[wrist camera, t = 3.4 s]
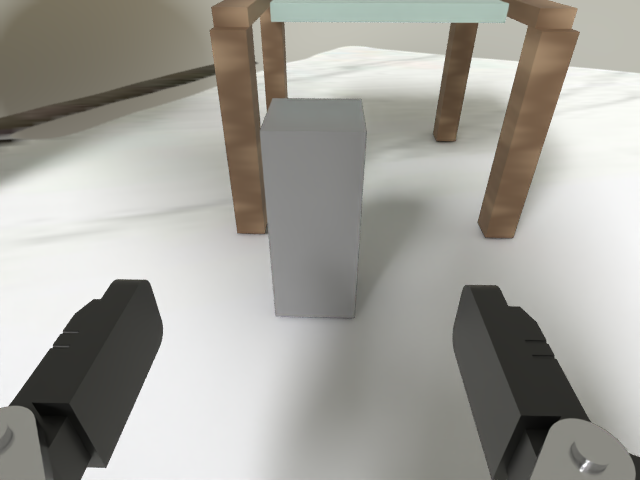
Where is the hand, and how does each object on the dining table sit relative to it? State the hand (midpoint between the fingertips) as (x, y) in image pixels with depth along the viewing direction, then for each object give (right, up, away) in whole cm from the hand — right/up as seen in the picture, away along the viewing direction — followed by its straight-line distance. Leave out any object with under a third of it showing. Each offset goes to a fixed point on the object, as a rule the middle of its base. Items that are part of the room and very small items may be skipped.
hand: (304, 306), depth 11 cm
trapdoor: (+5, +19, +20) cm, 28 cm away
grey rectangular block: (0, -1, +15) cm, 15 cm away
